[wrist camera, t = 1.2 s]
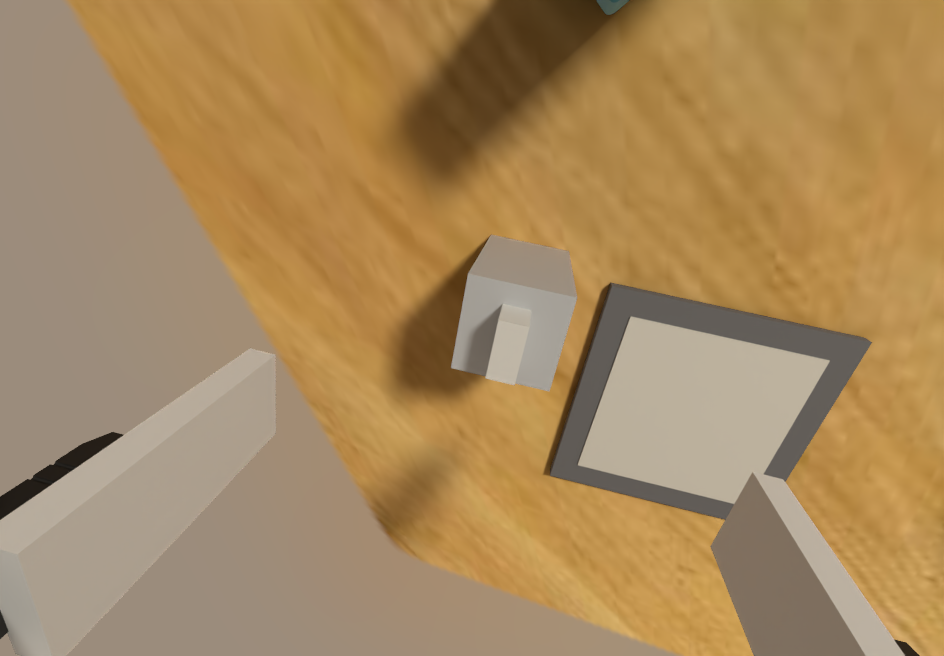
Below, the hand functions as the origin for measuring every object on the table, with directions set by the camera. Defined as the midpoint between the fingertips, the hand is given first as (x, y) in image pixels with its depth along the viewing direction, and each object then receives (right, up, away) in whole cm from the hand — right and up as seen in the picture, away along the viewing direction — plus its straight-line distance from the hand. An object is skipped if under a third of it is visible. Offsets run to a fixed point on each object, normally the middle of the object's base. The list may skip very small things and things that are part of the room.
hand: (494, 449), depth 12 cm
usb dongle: (+2, +6, +14) cm, 15 cm away
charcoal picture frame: (+13, -2, +15) cm, 20 cm away
